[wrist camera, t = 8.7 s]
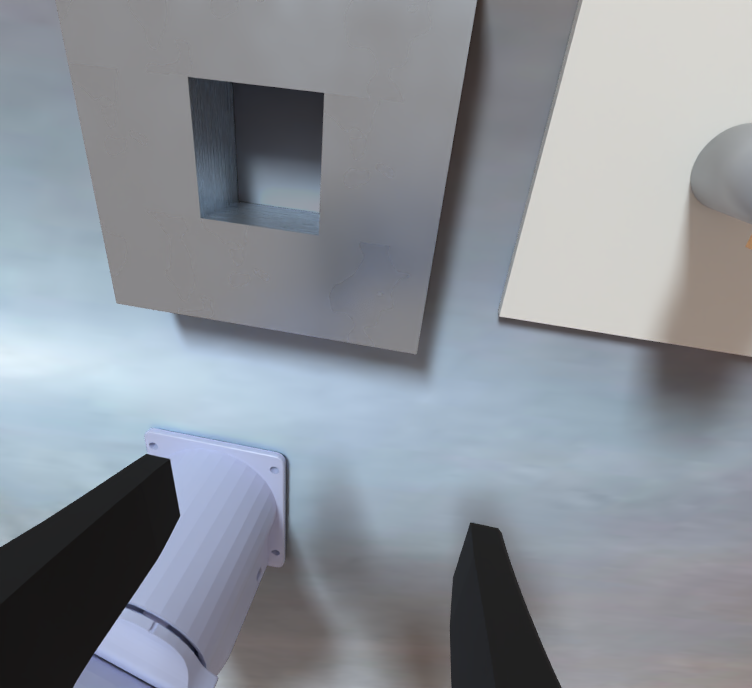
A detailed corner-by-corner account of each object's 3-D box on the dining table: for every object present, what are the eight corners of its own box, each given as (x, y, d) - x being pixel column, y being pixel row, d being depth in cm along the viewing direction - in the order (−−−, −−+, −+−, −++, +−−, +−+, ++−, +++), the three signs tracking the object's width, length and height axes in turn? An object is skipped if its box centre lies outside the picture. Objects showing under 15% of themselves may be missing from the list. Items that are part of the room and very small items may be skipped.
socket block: (422, 320, 19) (416, 354, 16) (160, 277, 20) (116, 303, 18) (483, -40, 13) (489, -75, 11) (110, -73, 14) (32, -112, 12)
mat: (809, 359, 17) (820, 367, 17) (498, 310, 18) (499, 316, 18) (1082, -40, 11) (1112, -47, 11) (599, -77, 12) (605, -85, 12)
